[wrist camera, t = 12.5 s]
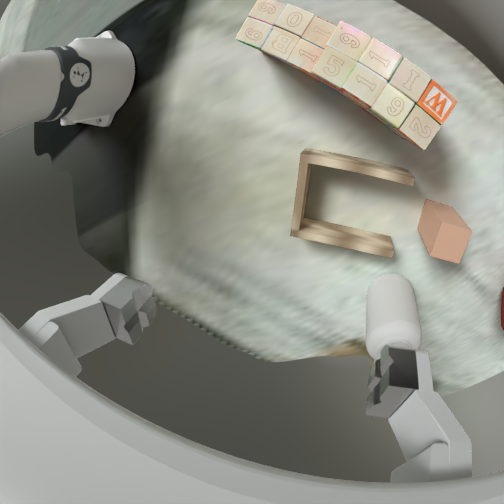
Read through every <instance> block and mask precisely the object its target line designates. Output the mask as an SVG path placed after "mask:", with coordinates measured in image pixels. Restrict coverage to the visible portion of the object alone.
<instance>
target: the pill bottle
mask: <svg viewBox="0 0 504 504" xmlns="http://www.w3.org/2000/svg"><path fill="white" fill-rule="evenodd" d="M421 340H422V333H421V327H420V321H419V315H418V310H417V305H416V300H415V295H414V291H413V287H412V285H411V283H410V281H409V280H408V279H407V278H405V277H404V276H402V275H400V274H395V273H389V274H384V275H382V276H379V277H378V278H376V279H375V280H374V281H373V282H372V283H371V284H370V286H369V288H368V291H367V297H366V348H367V351H368V353H369V354H370V356H371V357H372V358H374V363H375V361H376V360H378V359H380V358H381V351H382V349H383V347H384V346H385V345H392V346H398V347H404V348H411V349H417V350H418V349H419V347H420V344H421Z"/></svg>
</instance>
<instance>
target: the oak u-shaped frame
mask: <svg viewBox="0 0 504 504" xmlns="http://www.w3.org/2000/svg"><path fill="white" fill-rule="evenodd" d="M311 164H316V165H322V166H327V167H332V168H337V169H342V170H347V171H352V172H357V173H361V174H366V175H370V176H374V177H378V178H382V179H387V180H390V181H394V182H398V183H402V184H406V185H409V186H413V185H414V181H415V178H414V177H413V176H412V175H411V173H410V172H409V171H408V170H405V169H401V168H398V167H394V166H390V165H386V164H382V163H378V162H374V161H369V160H365V159H360V158H356V157H351V156H346V155H341V154H336V153H331V152H325V151H320V150H314V149H308V148H305V149H304V150H303V152H302V153H301V154H300V163H299V172H298V180H297V189H296V197H295V204H294V212H293V220H292V227H291V235H290V236H293V237H298V238H302V239H307V240H312V241H317V242H321V243H326V244H330V245H335V246H340V247H344V248H349V249H353V250H358V251H362V252H367V253H371V254H375V255H380V256H384V257H388V258H392V257H393V254H394V249H393V245H392V241H391V237H390V236H386V235H382V234H377V233H373V232H369V231H364V230H360V229H355V228H351V227H346V226H342V225H337V224H333V223H328V222H323V221H318V220H313V219H308V218H304V214H305V207H306V200H307V193H308V186H309V178H310V171H311Z"/></svg>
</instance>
